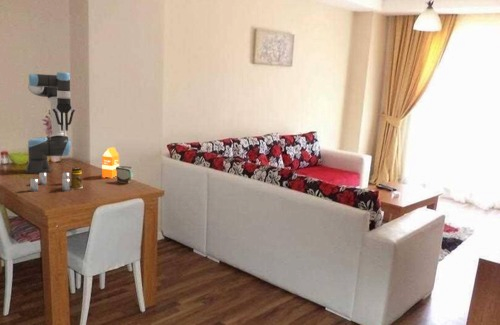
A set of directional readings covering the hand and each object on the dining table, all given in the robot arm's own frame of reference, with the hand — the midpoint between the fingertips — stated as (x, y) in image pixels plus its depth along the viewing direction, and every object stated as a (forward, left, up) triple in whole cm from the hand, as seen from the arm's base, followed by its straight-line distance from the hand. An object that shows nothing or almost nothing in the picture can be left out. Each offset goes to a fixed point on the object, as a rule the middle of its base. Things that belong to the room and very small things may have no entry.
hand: (64, 135), depth 266 cm
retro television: (+2, +37, -30) cm, 47 cm away
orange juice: (-14, +27, -30) cm, 42 cm away
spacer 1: (+22, -14, -29) cm, 39 cm away
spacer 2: (+6, -12, -29) cm, 32 cm away
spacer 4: (+22, +3, -29) cm, 37 cm away
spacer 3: (+6, +1, -29) cm, 30 cm away
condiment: (+15, +7, -30) cm, 34 cm away
